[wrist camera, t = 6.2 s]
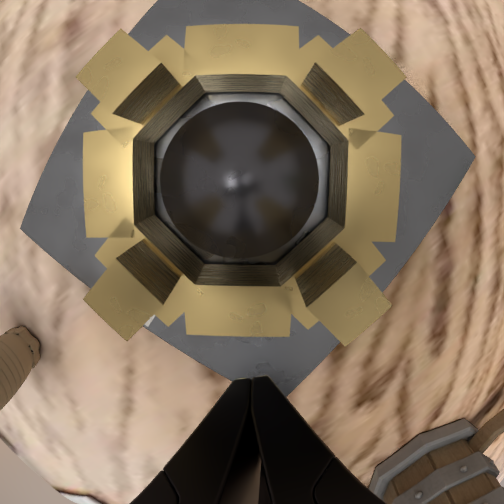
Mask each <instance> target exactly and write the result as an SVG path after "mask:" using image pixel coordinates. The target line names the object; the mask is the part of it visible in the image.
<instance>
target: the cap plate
mask: <svg viewBox="0 0 504 504" xmlns="http://www.w3.org/2000/svg"><path fill="white" fill-rule="evenodd" d="M213 24H270V25H288V26H299V49H300V48H301V47H303V46H304V45H305V44H307V43H308V42H309V41H311V40H312V39H313V38H315V37H316V36H318V35H319V36H320V37H321V38H322V39H323V40H324V41H326V42H327V43H328V44H329V45H330V46H331V47H332V48H334V47H335V46H337V45H338V44H339V43H341V42H342V41H343V40H345V39H346V38H347V37H349V36H350V34H349V33H347V32H346V31H344V30H343V29H342V28H340V27H339V26H337V25H336V24H334V23H333V22H332V21H330V20H329V19H327V18H326V17H324V16H323V15H321V14H320V13H318V12H316V11H315V10H313V9H312V8H310V7H308V6H307V5H305V4H304V3H302V2H300V1H299V0H158V1H157V2H156V3H155V4H154V5H153V6H152V7H151V8H150V9H149V10H148V12H147V13H146V14H145V15H144V16H143V17H142V18H141V20H140V21H139V22H138V23H137V24H136V25H135V27H134V28H133V29H132V30H131V31H130V33H129V34H128V35H129V36H130V37H132V38H133V39H134V40H135V41H137V42H138V43H139V44H140V45H141V46H143V47H144V48H145V49H146V50H147V51H149V50H150V49H151V48H153V47H154V46H155V45H156V44H157V43H158V42H159V41H160V40H161V39H162V38H163V37H165V36H166V35H168V36H169V37H170V38H171V39H173V40H174V41H175V42H176V43H178V44H179V45H180V46H181V47H182V48H184V47H185V35H186V26H196V25H213ZM382 101H383V103H384V104H385V105H386V106H387V107H388V108H389V110H390V111H391V112H392V113H393V115H394V116H393V117H392V118H391V119H390V120H389V121H388V122H387V123H386V124H385V125H384V126H383V127H381V128H380V129H379V130H378V131H377V132H384V133H391V134H397V135H401V173H400V192H399V206H398V218H397V229H396V238H395V242H372V241H371V242H372V243H373V244H374V245H375V247H376V248H377V249H378V250H379V252H380V253H381V254H382V256H383V257H384V258H385V260H386V261H385V262H384V263H383V264H382V265H381V266H380V267H379V268H377V269H376V270H375V271H374V272H373V273H372V274H371V275H370V276H369V277H370V278H371V280H372V281H373V282H374V283H375V284H376V286H377V287H378V288H379V289H380V291H381V292H382V293H383V291H384V290H385V289H386V288H387V286H388V285H389V284H390V283H391V281H392V280H393V279H394V277H395V276H396V275H397V274H398V272H399V271H400V270H401V268H402V267H403V266H404V264H405V263H406V262H407V260H408V259H409V258H410V256H411V255H412V254H413V252H414V251H415V250H416V248H417V247H418V246H419V244H420V243H421V241H422V240H423V239H424V237H425V236H426V234H427V233H428V231H429V230H430V229H431V227H432V226H433V224H434V223H435V221H436V220H437V218H438V217H439V215H440V214H441V212H442V211H443V209H444V208H445V206H446V205H447V203H448V202H449V200H450V198H451V197H452V195H453V194H454V192H455V190H456V189H457V187H458V186H459V184H460V182H461V181H462V179H463V177H464V176H465V174H466V172H467V171H468V169H469V167H470V165H471V164H472V162H473V160H474V158H475V155H474V154H473V153H472V152H471V150H470V149H469V148H468V147H467V145H466V144H465V143H464V142H463V141H462V139H461V138H460V137H459V136H458V135H457V133H456V132H455V131H454V130H453V129H452V128H451V127H450V125H449V124H448V123H447V122H446V121H445V120H444V119H443V118H442V117H441V115H440V114H439V113H438V112H437V111H436V110H435V109H434V108H433V107H432V106H431V105H430V104H429V103H428V102H427V101H426V100H425V99H424V98H423V97H422V96H421V95H420V94H419V93H418V92H417V91H416V90H415V89H414V88H413V87H412V86H411V85H410V84H409V83H408V82H407V81H406V80H403V81H402V82H401V83H400V84H399V85H397V86H396V87H395V88H394V89H393V90H392V91H391V92H389V93H388V94H387V95H386V96H385V97H384V98H383V99H382ZM99 103H100V101H99V100H98V99H97V98H96V97H95V96H94V95H93V94H92V93H91V92H90V91H89V90H88V91H87V92H86V94H85V95H84V97H83V98H82V100H81V102H80V103H79V105H78V107H77V108H76V110H75V112H74V113H73V115H72V117H71V118H70V120H69V122H68V124H67V126H66V127H65V129H64V131H63V133H62V135H61V137H60V138H59V140H58V142H57V144H56V146H55V148H54V150H53V152H52V154H51V156H50V158H49V160H48V162H47V164H46V166H45V169H44V171H43V173H42V175H41V177H40V180H39V182H38V184H37V186H36V189H35V191H34V194H33V196H32V198H31V201H30V203H29V206H28V209H27V211H26V214H25V216H24V219H23V222H22V225H21V228H20V229H21V230H22V231H23V232H24V233H25V234H26V235H28V236H29V237H30V238H31V239H32V240H33V241H34V242H35V243H36V244H38V245H39V246H40V247H41V248H42V249H43V250H44V251H45V252H47V253H48V254H49V255H50V256H51V257H52V258H54V259H55V260H56V261H57V262H58V263H60V264H61V265H62V266H63V267H64V268H66V269H67V270H68V271H69V272H71V273H72V274H73V275H74V276H75V277H77V278H78V279H79V280H80V281H82V282H83V283H84V284H86V285H87V286H88V287H89V288H92V287H93V286H94V285H95V283H96V282H97V281H98V280H99V278H100V277H101V276H102V274H103V273H104V272H105V271H106V270H107V268H106V267H105V266H104V265H103V264H102V263H101V262H100V261H99V260H98V259H97V258H96V257H95V254H96V253H97V252H98V250H99V249H100V248H101V246H102V245H103V244H104V243H105V241H106V240H107V239H108V238H86V227H85V213H84V193H83V133H85V132H91V131H99V130H106V129H105V128H104V127H103V126H102V125H101V124H100V123H99V122H98V121H97V120H96V119H95V118H94V116H93V115H92V114H91V113H92V111H93V110H94V109H95V108H96V107H97V105H98V104H99ZM329 173H330V145H329V144H328V143H327V141H326V140H325V139H324V138H323V137H322V136H321V135H320V134H319V133H318V132H317V131H316V129H315V128H314V127H313V126H312V125H311V124H310V123H309V122H308V121H307V120H306V119H305V118H304V117H303V116H302V115H301V114H300V113H299V112H298V111H297V110H296V109H295V108H294V107H293V106H292V105H291V104H290V103H289V102H288V101H287V100H286V99H285V98H284V97H283V96H282V95H281V94H280V93H271V92H206V93H204V94H203V95H202V96H201V97H200V98H199V99H198V100H197V101H196V102H195V103H194V104H193V105H192V106H191V107H190V108H189V109H188V110H187V111H186V112H185V113H184V114H183V115H182V116H181V117H180V118H179V119H178V120H177V121H176V122H175V123H174V124H173V125H172V126H171V127H170V128H169V129H168V130H167V131H166V132H165V133H164V134H163V135H162V136H161V137H160V138H159V139H158V140H157V141H156V142H155V144H154V207H155V215H156V216H157V217H158V218H159V220H160V221H161V222H162V223H163V224H164V225H165V226H166V227H167V228H168V229H169V230H170V231H171V232H172V233H174V234H175V235H176V236H177V237H178V238H179V239H180V240H181V241H182V242H183V243H184V244H185V245H186V246H187V247H188V248H189V249H190V250H191V251H192V252H193V253H194V254H195V255H196V256H197V257H198V258H199V259H200V260H201V261H202V262H203V263H204V264H225V265H276V264H277V263H278V262H279V261H281V260H282V259H283V258H284V257H285V256H286V255H287V254H288V253H289V252H290V251H291V250H293V249H294V248H295V247H296V246H297V245H298V244H299V243H300V242H301V241H302V240H303V239H304V238H306V237H307V236H308V235H309V234H310V233H311V232H312V231H313V230H314V229H315V228H316V227H317V226H318V225H320V224H321V223H322V222H323V221H324V220H325V219H326V218H327V217H328V198H329ZM143 327H145V328H146V329H148V330H149V331H151V332H152V333H154V334H155V335H157V336H158V337H160V338H161V339H163V340H164V341H166V342H167V343H169V344H170V345H172V346H174V347H175V348H177V349H178V350H180V351H182V352H183V353H185V354H186V355H188V356H190V357H191V358H193V359H195V360H196V361H198V362H200V363H201V364H203V365H205V366H206V367H208V368H210V369H212V370H213V371H215V372H217V373H218V374H220V375H222V376H224V377H226V378H227V379H229V380H231V381H233V380H235V379H239V378H251V380H252V378H253V377H257V376H264V375H268V376H269V377H270V378H271V379H272V380H273V382H274V383H275V384H276V385H277V387H278V388H279V389H280V390H281V392H282V393H283V394H284V395H285V397H286V396H288V395H289V394H290V393H291V392H292V391H293V390H294V389H295V388H296V387H297V386H298V385H299V384H300V383H301V382H302V381H303V380H304V379H305V378H306V377H307V376H308V375H309V374H310V373H311V372H312V371H313V370H314V369H315V368H316V367H317V366H318V365H319V364H320V363H321V362H322V361H323V360H324V359H325V357H326V356H327V355H328V354H329V353H330V352H331V351H332V350H333V349H334V348H335V347H336V346H337V345H338V344H339V342H340V341H339V340H338V339H337V338H336V337H335V336H334V335H333V334H332V333H331V332H330V331H329V330H328V329H327V328H326V327H325V326H324V325H323V324H322V323H321V322H320V321H318V322H317V323H316V324H315V325H313V326H312V327H311V328H310V329H309V330H308V329H307V328H306V327H304V326H303V325H302V324H301V323H300V322H299V321H298V320H297V319H296V318H295V317H294V316H293V315H292V314H291V323H290V336H289V337H241V336H207V335H186V324H185V312H184V313H183V314H182V315H181V316H179V317H178V318H177V319H176V320H175V321H174V322H173V323H172V324H171V325H170V326H169V327H168V326H167V325H166V324H164V323H163V322H162V321H161V320H160V319H159V318H158V317H157V316H156V315H153V316H152V317H151V318H150V319H149V320H148V321H147V322H146V323H145V324H144V325H143Z"/></svg>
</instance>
